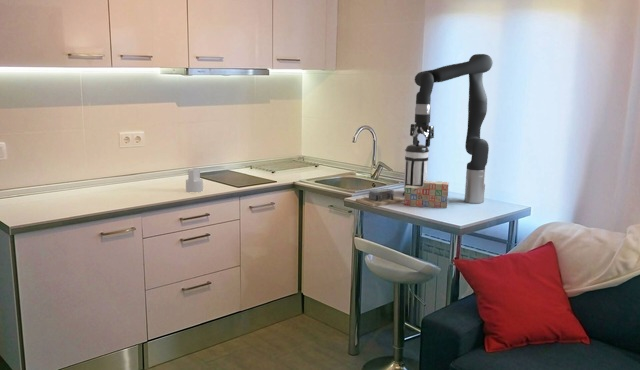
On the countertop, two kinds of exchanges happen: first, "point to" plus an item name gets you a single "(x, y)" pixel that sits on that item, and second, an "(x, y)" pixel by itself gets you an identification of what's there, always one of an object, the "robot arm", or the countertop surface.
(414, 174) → the coffee press
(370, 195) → the grey rectangular block
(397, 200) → the pin tray
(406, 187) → the stack of blocks
